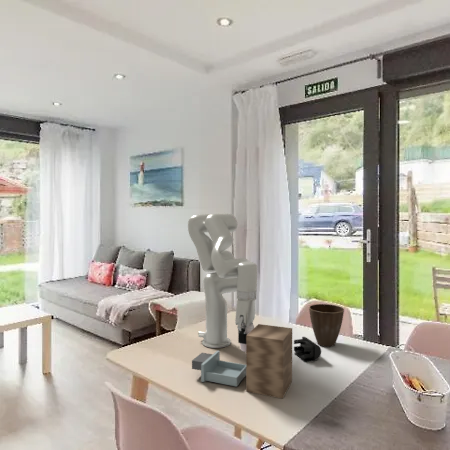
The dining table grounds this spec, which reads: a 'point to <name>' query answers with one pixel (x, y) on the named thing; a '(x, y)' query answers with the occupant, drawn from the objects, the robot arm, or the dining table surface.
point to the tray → (218, 369)
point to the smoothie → (249, 329)
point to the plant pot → (326, 323)
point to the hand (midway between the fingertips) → (245, 339)
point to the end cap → (307, 350)
